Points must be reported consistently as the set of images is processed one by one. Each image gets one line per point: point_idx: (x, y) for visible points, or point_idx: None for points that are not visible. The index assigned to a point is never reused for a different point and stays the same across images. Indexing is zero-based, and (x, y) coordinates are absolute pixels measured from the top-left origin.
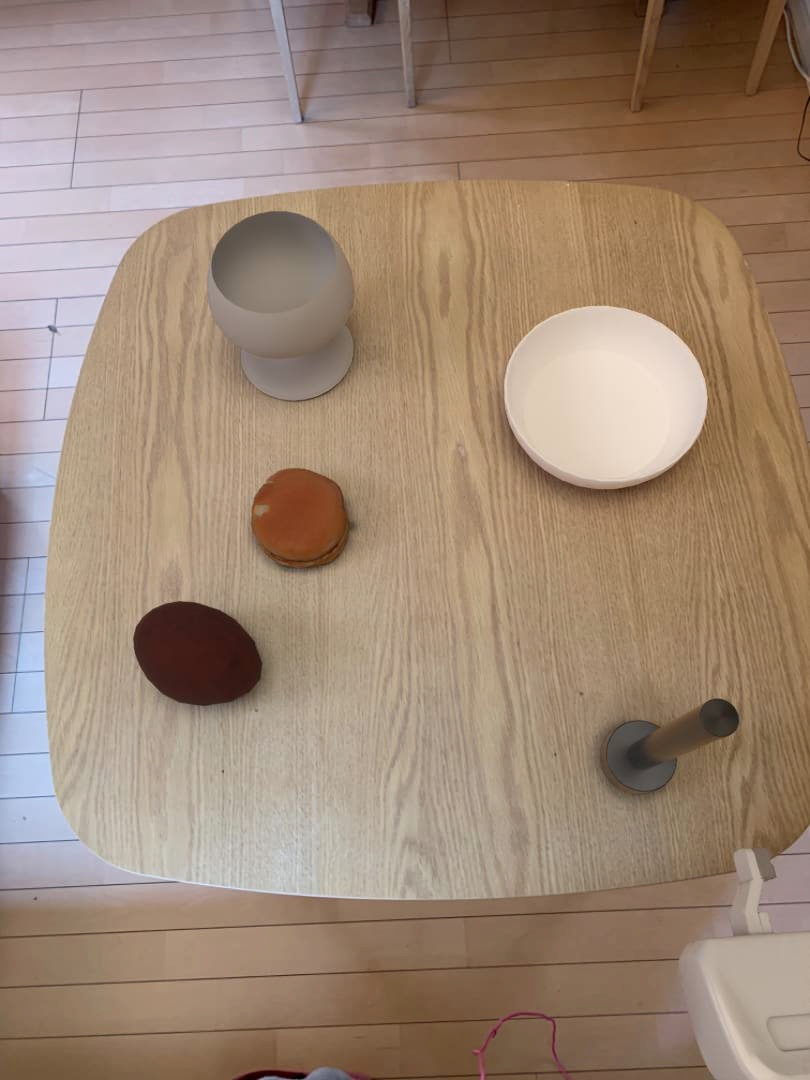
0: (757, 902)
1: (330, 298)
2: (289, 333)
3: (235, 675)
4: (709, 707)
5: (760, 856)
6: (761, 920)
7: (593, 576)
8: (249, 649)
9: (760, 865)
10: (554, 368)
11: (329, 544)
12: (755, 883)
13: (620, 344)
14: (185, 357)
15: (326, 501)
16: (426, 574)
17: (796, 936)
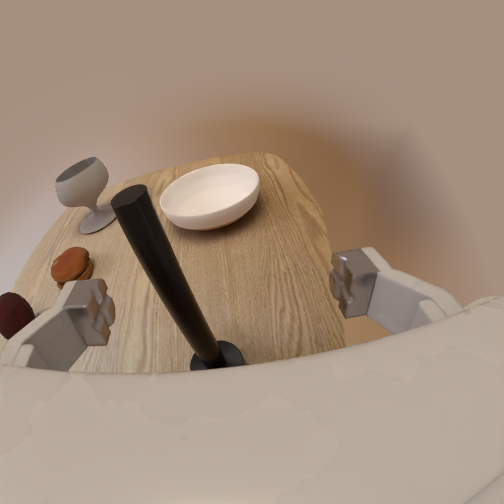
0: (31, 332)
1: (88, 172)
2: (72, 187)
3: (13, 319)
4: (122, 191)
5: (80, 283)
6: (18, 355)
7: (205, 274)
8: (22, 309)
9: (73, 293)
10: (196, 197)
11: (74, 272)
12: (49, 312)
13: (226, 182)
14: (65, 230)
15: (76, 254)
16: (118, 286)
17: (28, 371)
